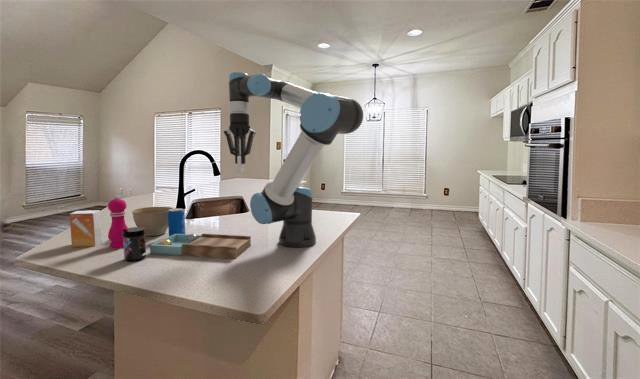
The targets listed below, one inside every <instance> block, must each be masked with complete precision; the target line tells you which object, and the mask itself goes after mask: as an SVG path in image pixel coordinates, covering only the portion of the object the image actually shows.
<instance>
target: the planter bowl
mask: <svg viewBox="0 0 640 379" xmlns="http://www.w3.org/2000/svg"><path fill="white" fill-rule="evenodd" d="M169 209H174V208H173V207H171V206H149V207H140V208H136V209H133V210H131V213H132V216H133V217H132V219H133V222H134V223H135V226H136V227H144V228H145V237H147V236H149V237H151V236H154V237H155V236H160V235H164V234H166V233H167V229H169V228H168V212H169Z"/></svg>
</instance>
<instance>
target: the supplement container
mask: <svg viewBox="0 0 640 379" xmlns="http://www.w3.org/2000/svg"><path fill="white" fill-rule="evenodd" d="M122 236H123V248H122V249H123V260H124V261H125V262H129V263H132V262H133V263H134V262H139V261H143V260H144V259H146V258H147V247H146V246H147V245H146V244H147V243H146V242H147V241H146V236H145V228H144V227H137V226H136V227H135V226H134V227H133V226H132V227H128V228H126V229H123V230H122Z"/></svg>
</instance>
